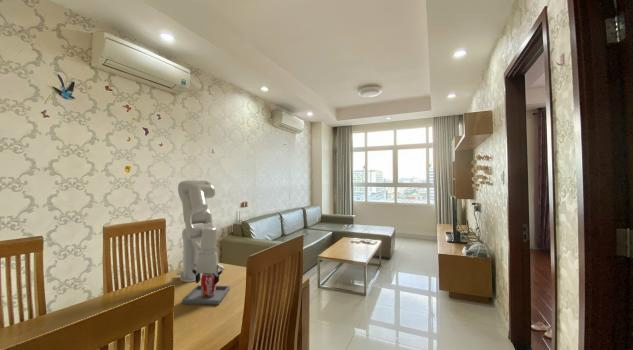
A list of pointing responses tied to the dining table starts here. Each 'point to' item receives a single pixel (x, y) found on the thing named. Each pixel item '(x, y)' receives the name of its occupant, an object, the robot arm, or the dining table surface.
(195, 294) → the tray
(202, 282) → the soda can
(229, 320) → the dining table surface
